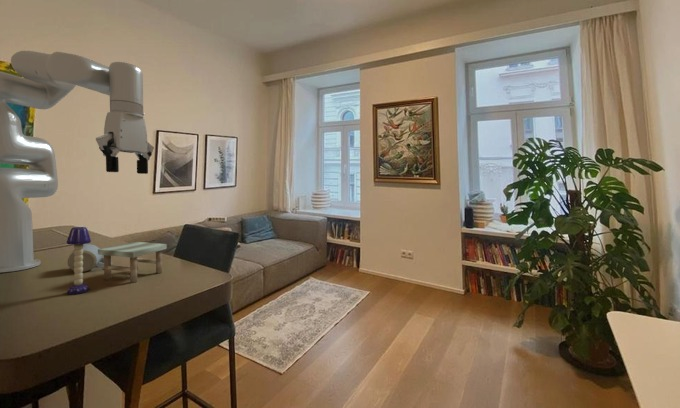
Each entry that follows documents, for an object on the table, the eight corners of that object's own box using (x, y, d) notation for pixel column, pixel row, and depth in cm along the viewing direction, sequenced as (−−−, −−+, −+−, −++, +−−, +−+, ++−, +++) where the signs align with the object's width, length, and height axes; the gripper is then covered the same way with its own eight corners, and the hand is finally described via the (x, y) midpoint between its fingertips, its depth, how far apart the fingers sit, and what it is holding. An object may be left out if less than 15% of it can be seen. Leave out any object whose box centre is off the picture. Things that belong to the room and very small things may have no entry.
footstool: (98, 280, 84) (97, 249, 84) (135, 268, 96) (134, 241, 96) (133, 284, 82) (133, 252, 82) (166, 271, 94) (166, 244, 93)
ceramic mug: (66, 274, 88) (66, 249, 88) (72, 267, 95) (72, 244, 95) (110, 270, 94) (110, 247, 94) (113, 264, 101) (113, 242, 101)
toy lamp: (77, 288, 78) (76, 225, 77) (96, 288, 78) (95, 226, 77) (62, 294, 73) (60, 228, 72) (82, 294, 74) (80, 229, 73)
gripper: (140, 118, 90) (141, 173, 91) (83, 102, 73) (85, 171, 74) (162, 118, 89) (163, 174, 90) (109, 101, 72) (111, 171, 73)
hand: (128, 172), depth 82 cm, fingers open, 9 cm apart
